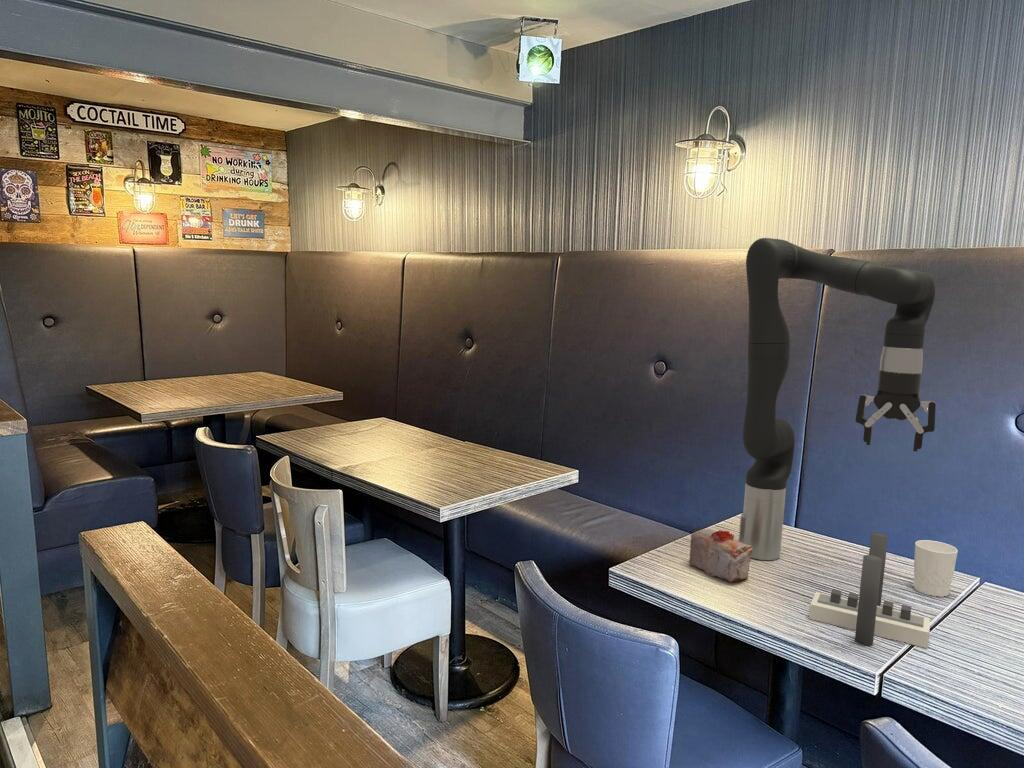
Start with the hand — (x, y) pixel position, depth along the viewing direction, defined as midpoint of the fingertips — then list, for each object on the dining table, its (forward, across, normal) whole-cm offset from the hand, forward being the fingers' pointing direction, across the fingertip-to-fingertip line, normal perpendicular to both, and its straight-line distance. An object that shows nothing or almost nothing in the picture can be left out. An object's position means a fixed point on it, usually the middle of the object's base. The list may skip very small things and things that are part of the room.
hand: (891, 447), depth 146 cm
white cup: (+32, +10, +10) cm, 35 cm away
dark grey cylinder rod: (+32, 0, -9) cm, 33 cm away
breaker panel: (+32, 0, -17) cm, 36 cm away
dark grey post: (+32, 0, -24) cm, 40 cm away
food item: (+32, -31, -8) cm, 45 cm away
